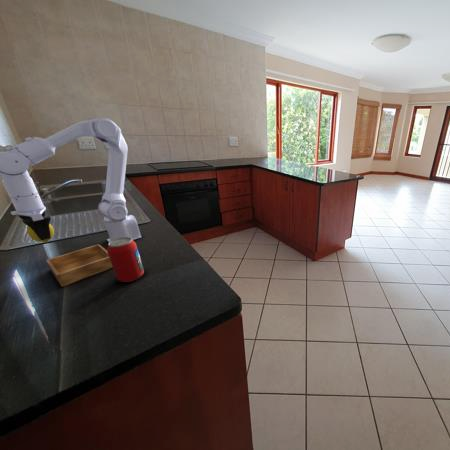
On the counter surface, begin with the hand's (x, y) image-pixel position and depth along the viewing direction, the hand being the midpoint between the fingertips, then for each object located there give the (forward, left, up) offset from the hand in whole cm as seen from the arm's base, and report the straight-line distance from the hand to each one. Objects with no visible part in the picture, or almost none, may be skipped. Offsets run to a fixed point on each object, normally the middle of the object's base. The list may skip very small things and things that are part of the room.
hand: (43, 236), depth 74 cm
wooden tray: (-5, +13, -9) cm, 16 cm away
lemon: (0, 0, -2) cm, 2 cm away
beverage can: (-12, +30, -9) cm, 33 cm away
